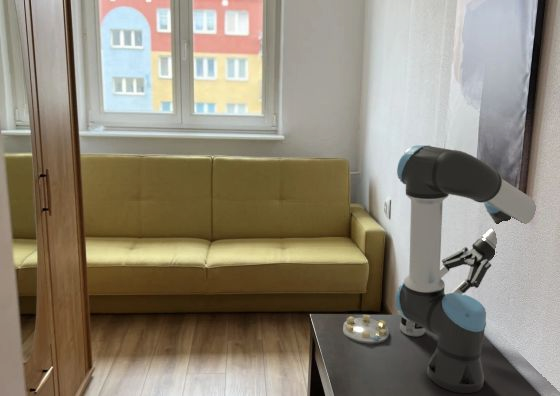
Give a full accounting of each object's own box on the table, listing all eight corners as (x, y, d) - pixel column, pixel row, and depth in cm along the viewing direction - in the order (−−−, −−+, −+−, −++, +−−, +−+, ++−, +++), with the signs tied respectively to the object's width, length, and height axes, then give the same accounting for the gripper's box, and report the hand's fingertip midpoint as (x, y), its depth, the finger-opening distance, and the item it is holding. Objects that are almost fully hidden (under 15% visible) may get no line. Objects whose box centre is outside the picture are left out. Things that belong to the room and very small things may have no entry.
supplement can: (398, 324, 168) (402, 284, 165) (422, 327, 167) (427, 286, 164) (400, 335, 161) (405, 293, 157) (426, 338, 159) (431, 296, 156)
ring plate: (396, 332, 163) (397, 324, 162) (374, 349, 151) (375, 340, 151) (358, 317, 172) (358, 309, 171) (334, 332, 161) (334, 323, 160)
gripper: (518, 266, 151) (468, 312, 152) (474, 241, 175) (431, 281, 176) (505, 250, 149) (454, 297, 149) (462, 227, 173) (418, 267, 173)
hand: (441, 288), depth 163 cm, fingers open, 13 cm apart
